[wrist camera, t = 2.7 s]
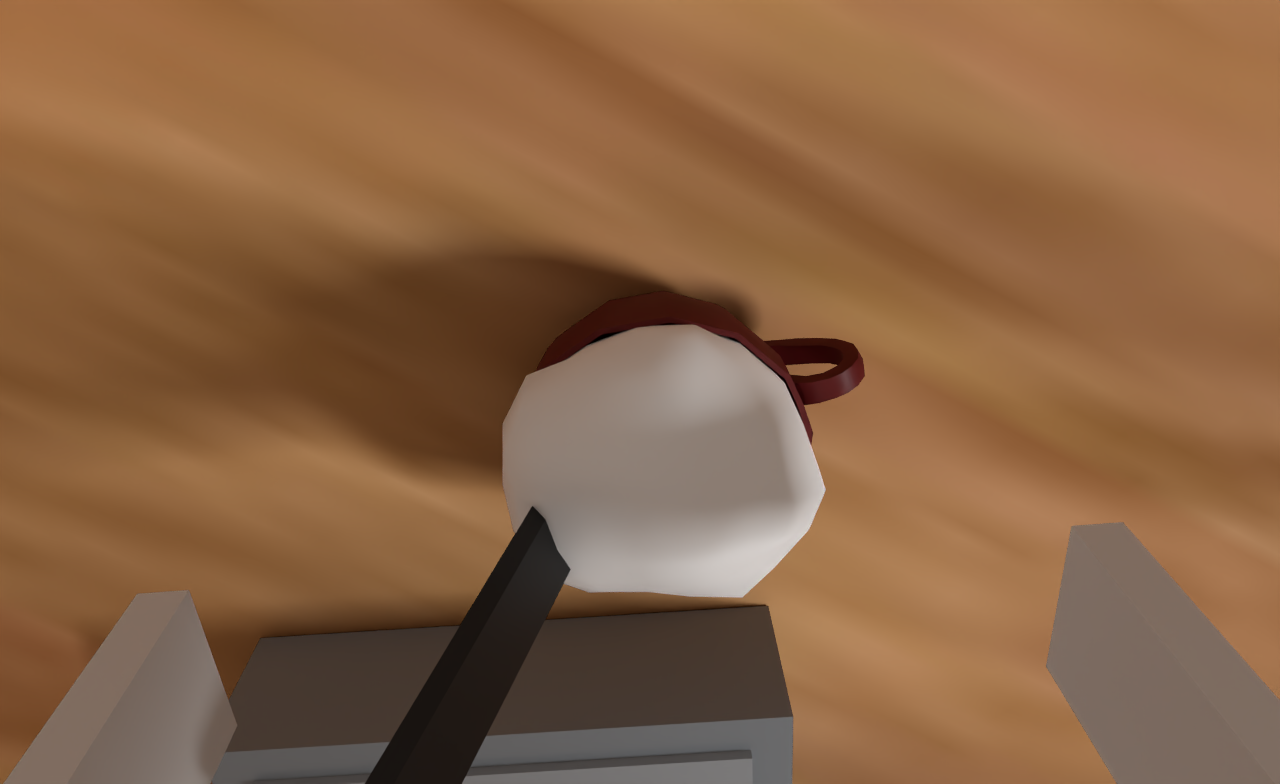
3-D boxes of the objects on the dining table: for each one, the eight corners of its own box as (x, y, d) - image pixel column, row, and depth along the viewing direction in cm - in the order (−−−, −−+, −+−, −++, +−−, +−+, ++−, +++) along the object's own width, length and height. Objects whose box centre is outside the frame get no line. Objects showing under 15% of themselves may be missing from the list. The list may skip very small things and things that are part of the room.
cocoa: (833, 258, 21) (1108, 549, 10) (813, 493, 24) (1016, 927, 13) (418, 266, 21) (242, 584, 10) (443, 506, 23) (326, 972, 12)
